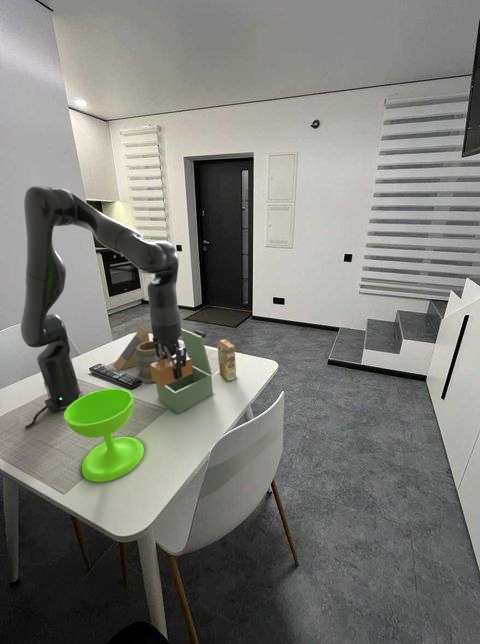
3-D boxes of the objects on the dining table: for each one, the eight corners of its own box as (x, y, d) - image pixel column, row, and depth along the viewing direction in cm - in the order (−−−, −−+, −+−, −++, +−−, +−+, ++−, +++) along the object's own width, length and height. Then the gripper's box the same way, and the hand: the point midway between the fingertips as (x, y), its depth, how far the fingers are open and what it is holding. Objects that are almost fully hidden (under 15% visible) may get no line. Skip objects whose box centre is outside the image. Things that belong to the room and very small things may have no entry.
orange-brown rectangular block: (162, 387, 78) (159, 371, 76) (152, 379, 82) (149, 364, 80) (192, 373, 85) (191, 358, 83) (182, 367, 88) (180, 352, 87)
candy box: (236, 378, 121) (235, 345, 115) (227, 381, 119) (226, 348, 113) (227, 370, 128) (225, 338, 122) (218, 372, 125) (216, 340, 120)
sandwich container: (113, 364, 133) (106, 334, 128) (146, 354, 143) (141, 326, 137) (119, 370, 127) (112, 339, 122) (152, 360, 137) (148, 331, 131)
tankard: (151, 385, 116) (146, 352, 110) (132, 377, 122) (125, 345, 116) (187, 365, 131) (184, 335, 126) (168, 359, 138) (164, 330, 132)
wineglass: (115, 432, 90) (103, 383, 84) (156, 446, 85) (146, 395, 78) (67, 471, 77) (48, 416, 70) (112, 490, 71) (96, 432, 65)
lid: (200, 337, 98) (211, 331, 101) (179, 328, 106) (190, 323, 109) (210, 375, 106) (220, 368, 110) (190, 364, 114) (200, 358, 117)
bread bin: (177, 413, 99) (174, 393, 96) (158, 399, 107) (155, 380, 104) (212, 394, 110) (211, 375, 107) (193, 382, 118) (191, 365, 115)
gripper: (139, 317, 79) (148, 371, 85) (167, 330, 70) (174, 389, 76) (164, 311, 84) (170, 362, 90) (193, 322, 75) (198, 378, 81)
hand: (172, 374), depth 83 cm, fingers closed on orange-brown rectangular block, 5 cm apart
